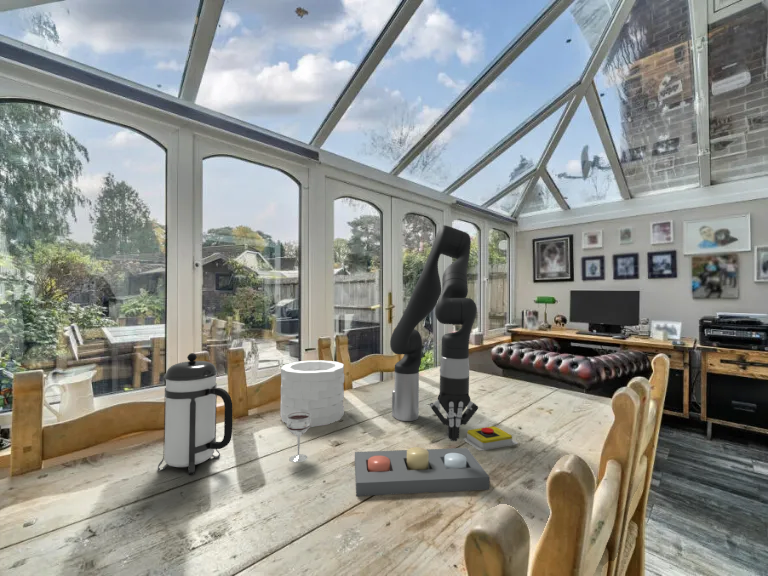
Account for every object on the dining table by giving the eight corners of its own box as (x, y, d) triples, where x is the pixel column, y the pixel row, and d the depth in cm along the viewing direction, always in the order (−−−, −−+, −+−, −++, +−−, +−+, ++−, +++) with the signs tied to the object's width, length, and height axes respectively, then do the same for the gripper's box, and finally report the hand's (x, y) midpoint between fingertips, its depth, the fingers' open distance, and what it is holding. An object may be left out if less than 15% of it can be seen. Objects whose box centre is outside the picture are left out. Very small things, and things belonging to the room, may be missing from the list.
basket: (276, 409, 141) (277, 362, 141) (334, 402, 151) (335, 358, 151) (285, 432, 118) (285, 375, 118) (352, 422, 128) (353, 370, 128)
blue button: (447, 479, 89) (447, 463, 89) (441, 468, 95) (442, 453, 95) (469, 478, 90) (469, 462, 90) (462, 467, 95) (462, 452, 95)
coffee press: (153, 485, 85) (156, 360, 86) (160, 457, 99) (162, 350, 100) (231, 469, 93) (233, 355, 94) (227, 445, 107) (229, 347, 108)
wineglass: (315, 455, 102) (315, 413, 102) (302, 465, 96) (302, 421, 96) (294, 451, 104) (295, 410, 104) (281, 461, 98) (281, 418, 98)
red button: (368, 482, 87) (368, 466, 87) (367, 471, 93) (367, 455, 93) (390, 481, 88) (391, 465, 88) (388, 470, 93) (388, 455, 93)
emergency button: (462, 426, 114) (499, 421, 120) (461, 440, 114) (499, 434, 120) (479, 438, 106) (519, 431, 111) (479, 452, 106) (519, 445, 111)
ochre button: (408, 473, 88) (408, 457, 88) (405, 462, 94) (405, 447, 94) (430, 472, 89) (430, 456, 89) (425, 461, 94) (425, 446, 94)
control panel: (356, 496, 82) (356, 483, 82) (354, 462, 97) (354, 451, 98) (489, 489, 85) (489, 477, 85) (466, 458, 101) (467, 447, 101)
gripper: (433, 377, 88) (431, 446, 88) (484, 377, 89) (482, 445, 89) (426, 370, 96) (425, 434, 96) (474, 370, 97) (472, 433, 97)
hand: (453, 439), depth 92 cm, fingers closed
